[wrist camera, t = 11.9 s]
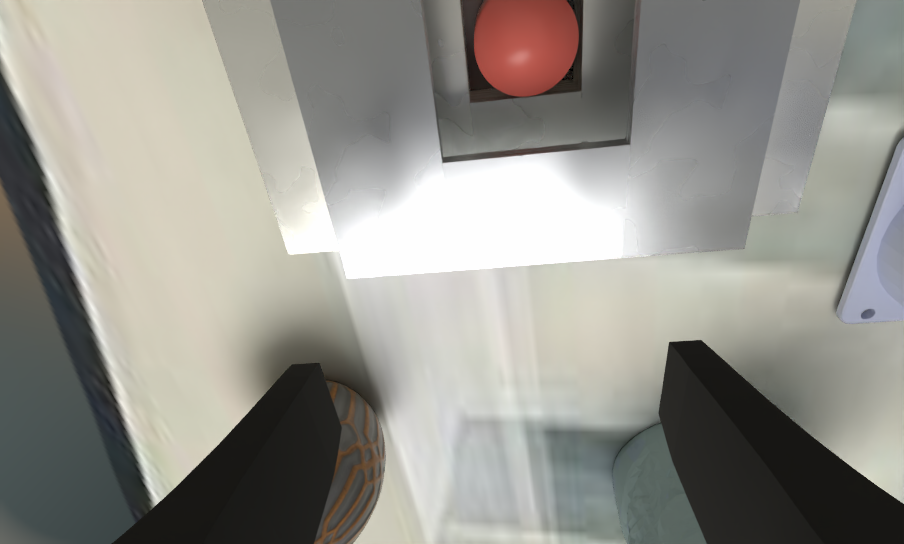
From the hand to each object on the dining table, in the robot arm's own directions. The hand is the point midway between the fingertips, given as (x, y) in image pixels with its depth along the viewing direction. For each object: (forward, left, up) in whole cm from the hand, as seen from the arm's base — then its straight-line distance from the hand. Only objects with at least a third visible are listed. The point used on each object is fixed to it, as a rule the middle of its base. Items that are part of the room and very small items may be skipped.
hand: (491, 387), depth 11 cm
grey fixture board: (-2, -6, -10) cm, 11 cm away
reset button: (-1, -6, -10) cm, 11 cm away
